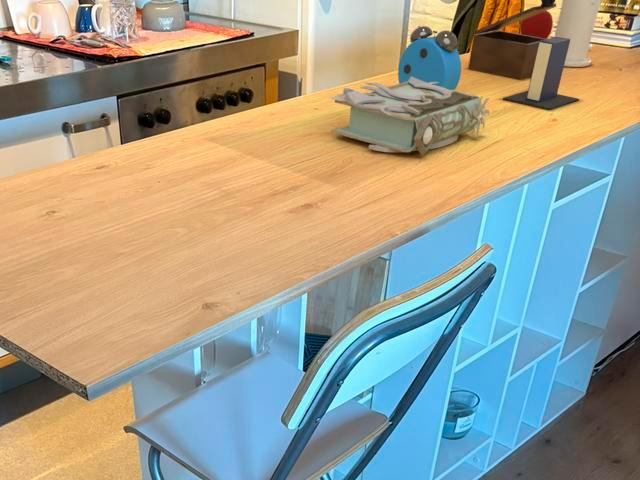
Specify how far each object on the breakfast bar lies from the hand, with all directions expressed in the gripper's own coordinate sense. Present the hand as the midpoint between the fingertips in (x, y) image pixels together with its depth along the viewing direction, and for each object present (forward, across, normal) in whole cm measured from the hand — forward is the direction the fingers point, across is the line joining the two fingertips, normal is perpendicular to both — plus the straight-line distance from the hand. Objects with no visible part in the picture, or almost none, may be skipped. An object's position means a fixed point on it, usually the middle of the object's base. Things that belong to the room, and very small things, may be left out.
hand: (546, 6), depth 199 cm
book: (+15, -14, +21) cm, 30 cm away
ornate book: (+16, -11, +71) cm, 74 cm away
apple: (+15, +23, -44) cm, 52 cm away
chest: (+16, +8, 0) cm, 17 cm away
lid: (+4, +8, 0) cm, 9 cm away
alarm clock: (+16, +2, +47) cm, 49 cm away
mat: (+16, -14, +21) cm, 30 cm away
